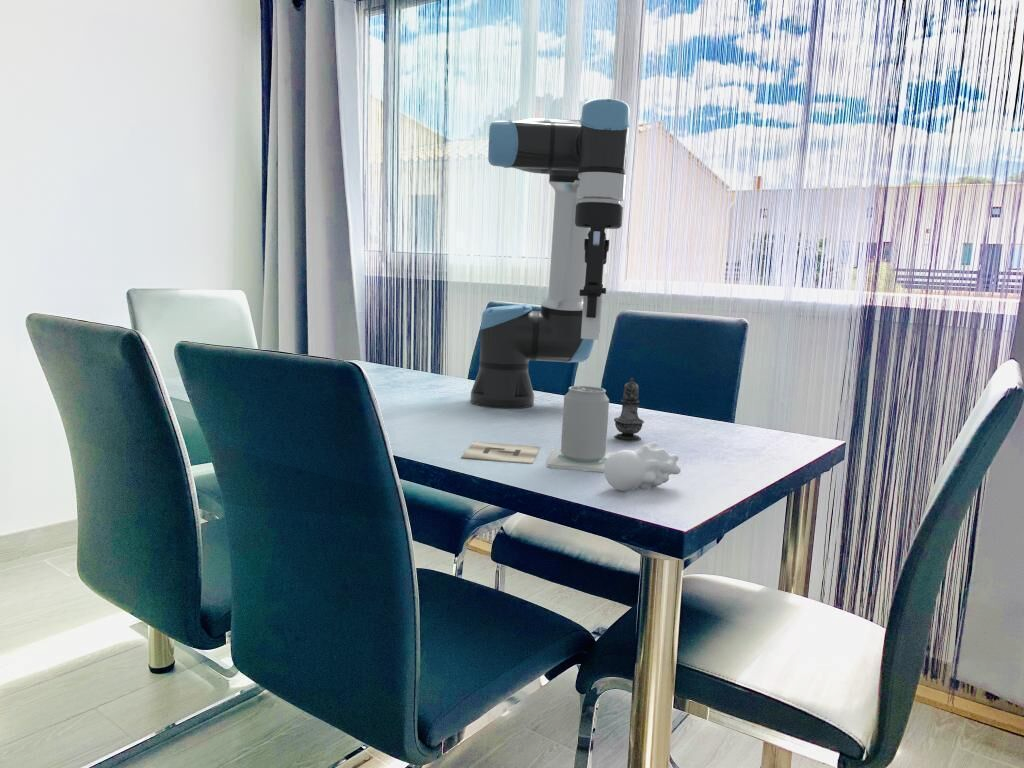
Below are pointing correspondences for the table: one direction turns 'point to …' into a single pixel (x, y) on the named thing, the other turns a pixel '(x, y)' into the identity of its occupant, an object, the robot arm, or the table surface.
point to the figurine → (640, 468)
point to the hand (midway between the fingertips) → (590, 335)
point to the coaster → (562, 463)
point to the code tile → (501, 452)
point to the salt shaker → (629, 414)
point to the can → (585, 424)
